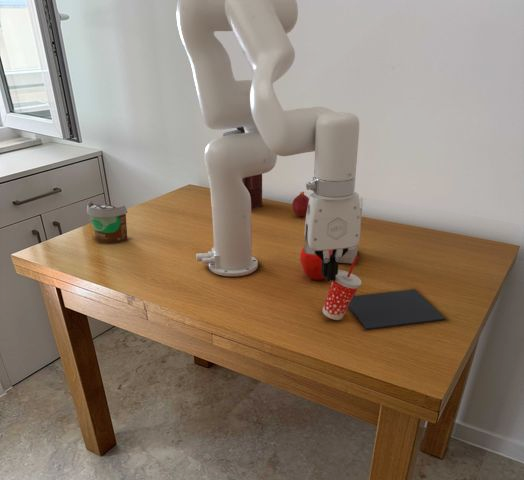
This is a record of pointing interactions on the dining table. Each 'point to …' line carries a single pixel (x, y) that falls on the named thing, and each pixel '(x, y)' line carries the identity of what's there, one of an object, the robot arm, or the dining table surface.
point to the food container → (108, 222)
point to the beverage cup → (341, 293)
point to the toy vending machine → (251, 179)
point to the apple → (312, 265)
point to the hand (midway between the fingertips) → (329, 278)
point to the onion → (300, 204)
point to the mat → (393, 309)
